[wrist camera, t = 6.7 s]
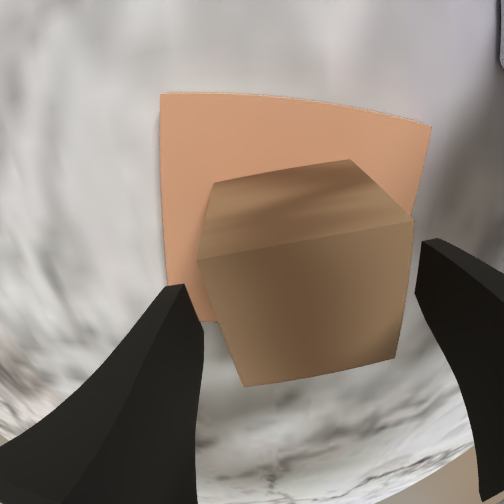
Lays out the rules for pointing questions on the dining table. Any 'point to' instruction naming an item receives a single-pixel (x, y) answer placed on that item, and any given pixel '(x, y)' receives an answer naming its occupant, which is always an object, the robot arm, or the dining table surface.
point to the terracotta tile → (267, 158)
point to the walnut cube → (306, 270)
